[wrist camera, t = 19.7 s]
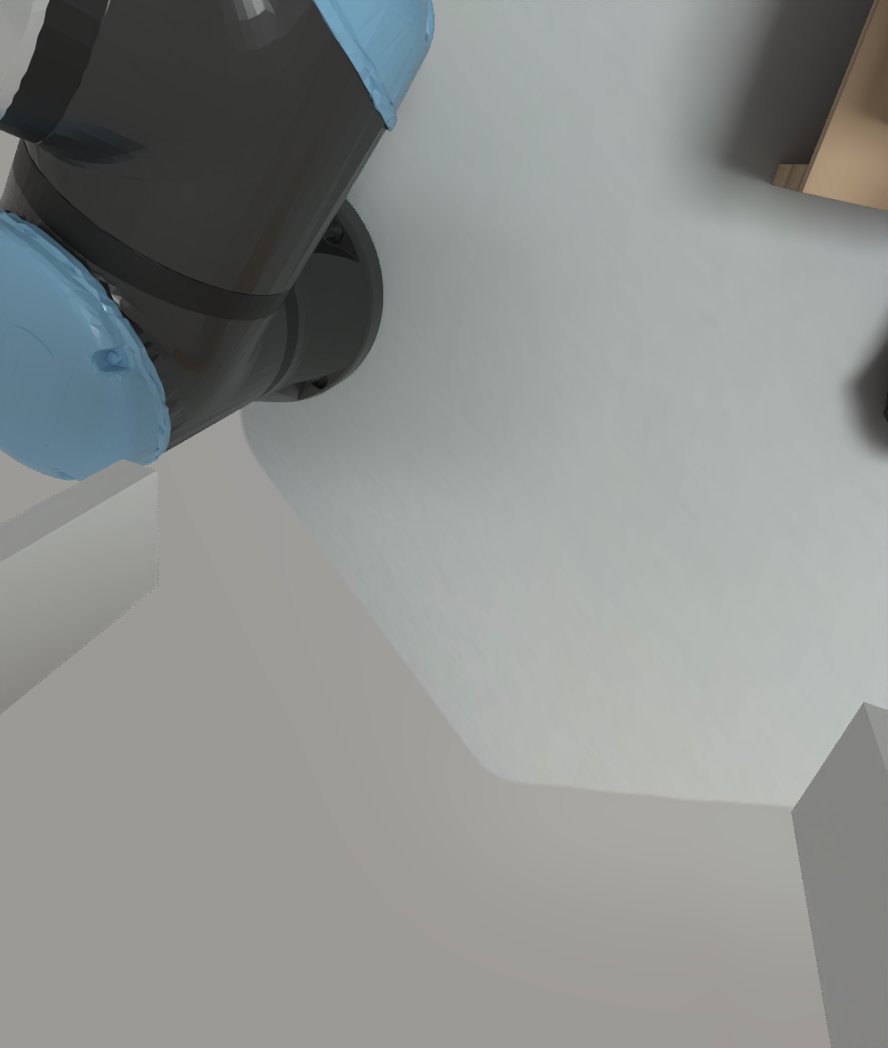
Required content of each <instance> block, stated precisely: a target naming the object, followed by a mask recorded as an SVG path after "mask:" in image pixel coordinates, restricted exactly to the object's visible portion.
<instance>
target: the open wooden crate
mask: <svg viewBox="0 0 888 1048" xmlns="http://www.w3.org/2000/svg"><path fill="white" fill-rule="evenodd" d="M772 185H775V186H779V187H783V188H787V189H791V190H795V191H799V192H804V193H808V194H813V195H817V196H822V197H826V198H831V199H836V200H840V201H845V202H849V203H854V204H858V205H863V206H867V207H872V208H877V209H881V210H886V211H888V0H874V3H873V5H872V8H871V10H870V13H869V15H868V18H867V20H866V23H865V25H864V28H863V30H862V33H861V35H860V38H859V40H858V43H857V45H856V48H855V50H854V53H853V55H852V58H851V60H850V63H849V65H848V68H847V70H846V73H845V75H844V78H843V80H842V83H841V85H840V88H839V90H838V93H837V95H836V98H835V100H834V103H833V105H832V108H831V110H830V113H829V115H828V118H827V120H826V123H825V125H824V128H823V130H822V133H821V135H820V138H819V140H818V143H817V145H816V148H815V150H814V153H813V155H812V158H811V160H810V163H809V164H779V167H778V169H777V172H776V175H775V177H774V180H773V183H772Z"/></svg>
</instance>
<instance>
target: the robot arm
mask: <svg viewBox="0 0 888 1048" xmlns="http://www.w3.org/2000/svg"><path fill="white" fill-rule="evenodd" d="M433 33H434V11H433V4H432V1H431V0H0V130H2V131H5V132H7V133H9V134H12V135H14V136H16V137H19V138H20V141H19V144H18V147H17V151H16V154H15V157H14V161H13V163H12V166H11V169H10V172H9V176H8V179H7V183H6V186H5V189H4V192H3V195H2V197H1V199H0V450H2V451H3V452H5V453H6V454H7V455H9V456H10V457H12V458H13V459H15V460H17V461H18V462H20V463H22V464H23V465H25V466H27V467H29V468H31V469H33V470H36V471H38V472H40V473H42V474H45V475H48V476H51V477H55V478H59V479H63V480H74V479H75V480H79V481H80V482H79V483H77V484H75V485H73V486H71V487H69V488H67V489H65V490H63V491H62V492H59V493H58V494H56V495H54V496H52V497H50V498H48V499H46V500H44V501H42V502H41V503H39V504H37V505H35V506H33V507H31V508H29V509H28V510H26V511H24V512H22V513H20V514H18V515H16V516H15V517H12V518H10V519H9V520H7V521H5V522H3V523H1V524H0V714H1V713H3V712H4V711H5V710H6V709H8V708H9V707H10V706H11V705H12V704H14V703H15V702H16V701H17V700H19V699H20V698H21V697H22V696H24V695H25V694H26V693H27V692H29V691H30V690H31V689H32V688H34V687H35V686H36V685H37V684H39V683H40V682H41V681H42V680H43V679H45V678H46V677H47V676H48V675H50V674H51V673H52V672H53V671H55V670H56V669H57V668H58V667H59V666H61V665H62V664H63V663H64V662H66V661H67V660H68V659H69V658H70V657H72V656H73V655H74V654H75V653H77V652H78V651H79V650H80V649H82V648H83V647H84V646H85V645H87V644H88V643H89V642H90V641H92V640H93V639H94V638H95V637H96V636H98V635H99V634H100V633H101V632H103V631H104V630H105V629H106V628H108V627H109V626H110V625H111V624H112V623H114V622H115V621H116V620H117V619H119V618H120V617H121V616H122V615H124V614H125V613H126V612H127V611H129V610H130V609H131V608H132V607H133V606H135V605H136V604H137V603H138V602H140V601H141V600H142V599H143V598H144V597H146V596H147V595H148V594H149V593H151V592H152V591H153V590H154V589H156V588H157V587H158V586H159V562H158V560H159V558H158V497H157V495H158V494H157V470H155V469H151V468H148V467H145V466H144V465H148V464H150V463H152V462H154V461H156V460H157V459H158V458H159V456H160V455H161V454H162V453H164V452H166V451H168V450H169V449H171V448H173V447H175V446H176V445H178V444H180V443H182V442H183V441H185V440H187V439H188V438H190V437H192V436H194V435H195V434H197V433H199V432H201V431H202V430H204V429H206V428H208V427H209V426H211V425H213V424H215V423H216V422H218V421H220V420H222V419H223V418H225V417H227V416H228V415H230V414H232V413H234V412H235V411H237V410H239V409H241V408H242V407H244V406H246V405H248V404H249V403H251V402H253V401H263V402H294V401H300V400H304V399H308V398H311V397H314V396H317V395H319V394H321V393H323V392H325V391H327V390H329V389H330V388H332V387H333V386H335V385H337V384H338V383H340V382H341V381H343V380H344V379H346V378H347V377H348V376H349V375H351V374H352V373H353V372H354V371H355V370H356V369H357V368H358V366H359V365H360V364H361V363H362V362H363V360H364V359H365V357H366V356H367V354H368V353H369V351H370V349H371V347H372V345H373V343H374V340H375V338H376V335H377V332H378V329H379V325H380V321H381V316H382V308H383V283H382V274H381V268H380V264H379V260H378V256H377V253H376V250H375V247H374V244H373V242H372V239H371V237H370V235H369V233H368V231H367V229H366V227H365V225H364V223H363V222H362V220H361V218H360V217H359V215H358V214H357V212H356V211H355V210H354V208H353V207H352V206H351V204H350V203H349V202H348V201H347V200H346V199H345V198H346V196H347V194H348V193H349V191H350V189H351V188H352V186H353V184H354V183H355V181H356V179H357V178H358V176H359V174H360V172H361V171H362V169H363V167H364V166H365V164H366V162H367V161H368V159H369V157H370V155H371V154H372V152H373V150H374V149H375V147H376V145H377V144H378V142H379V140H380V138H381V137H382V135H383V133H384V132H385V130H388V131H390V132H391V130H392V129H393V127H394V126H395V124H396V121H397V118H396V111H397V109H398V107H399V105H400V104H401V102H402V100H403V98H404V96H405V94H406V92H407V90H408V89H409V87H410V85H411V83H412V81H413V79H414V77H415V76H416V74H417V72H418V70H419V68H420V66H421V64H422V62H423V61H424V59H425V57H426V55H427V53H428V51H429V48H430V45H431V42H432V39H433ZM81 480H82V481H81ZM791 813H792V819H793V825H794V831H795V837H796V843H797V848H798V855H799V861H800V866H801V872H802V878H803V884H804V890H805V896H806V902H807V908H808V914H809V919H810V925H811V931H812V937H813V943H814V949H815V955H816V961H817V967H818V973H819V978H820V984H821V990H822V996H823V1002H824V1008H825V1014H826V1020H827V1026H828V1032H829V1038H830V1043H831V1048H888V710H886V709H883V708H880V707H877V706H874V705H871V704H868V703H865V702H864V703H863V704H862V706H861V707H860V709H859V710H858V712H857V713H856V715H855V716H854V718H853V719H852V721H851V722H850V724H849V725H848V727H847V728H846V730H845V732H844V733H843V735H842V736H841V738H840V739H839V741H838V742H837V744H836V745H835V747H834V748H833V750H832V751H831V753H830V754H829V756H828V757H827V759H826V760H825V762H824V763H823V765H822V766H821V768H820V770H819V771H818V773H817V774H816V776H815V777H814V779H813V780H812V782H811V783H810V785H809V786H808V788H807V789H806V791H805V792H804V794H803V795H802V797H801V798H800V800H799V801H798V803H797V804H796V806H795V807H794V809H793V811H792V812H791Z"/></svg>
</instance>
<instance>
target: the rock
mask: <svg viewBox="0 0 888 1048" xmlns="http://www.w3.org/2000/svg"><path fill="white" fill-rule="evenodd" d="M884 416H885V418H886V420H887V422H888V393H887V406H886V408H885V410H884Z"/></svg>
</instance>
